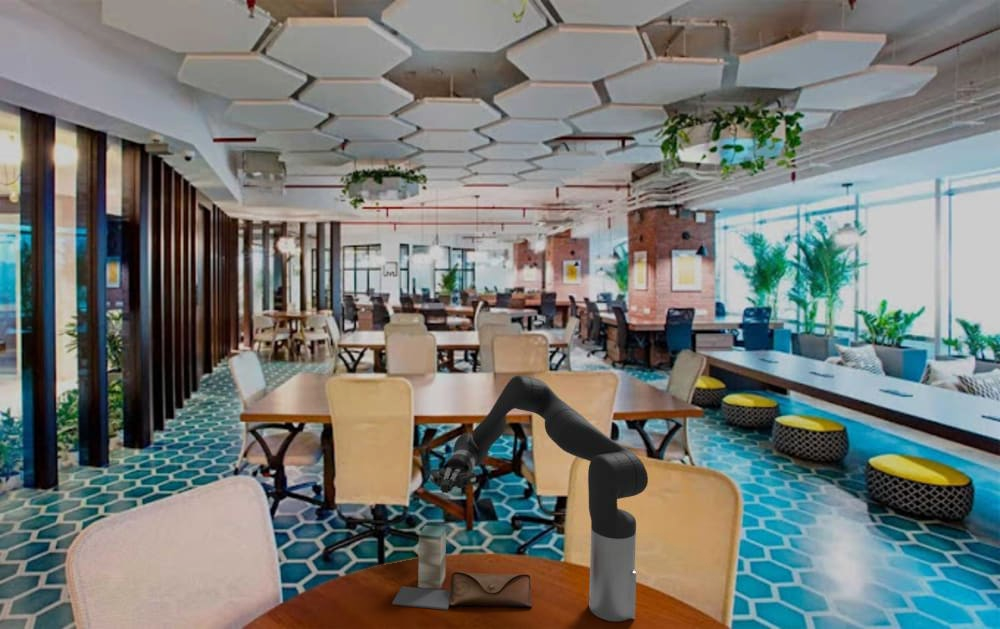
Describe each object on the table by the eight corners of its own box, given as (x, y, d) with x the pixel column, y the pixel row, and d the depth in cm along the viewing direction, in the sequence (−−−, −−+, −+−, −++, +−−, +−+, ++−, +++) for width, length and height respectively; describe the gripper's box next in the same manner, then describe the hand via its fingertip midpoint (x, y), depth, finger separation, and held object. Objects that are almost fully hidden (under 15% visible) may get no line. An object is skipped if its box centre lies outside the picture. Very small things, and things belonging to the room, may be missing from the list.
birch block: (445, 577, 128) (445, 526, 127) (439, 589, 123) (440, 536, 122) (424, 575, 129) (425, 525, 128) (418, 587, 124) (418, 534, 123)
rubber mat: (454, 593, 122) (454, 591, 122) (447, 609, 115) (447, 608, 115) (401, 588, 123) (401, 586, 123) (392, 604, 117) (392, 602, 117)
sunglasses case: (449, 606, 115) (450, 570, 118) (449, 606, 121) (451, 572, 124) (534, 607, 116) (534, 572, 119) (530, 607, 122) (530, 574, 125)
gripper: (436, 451, 154) (419, 472, 137) (483, 455, 153) (471, 476, 136) (436, 478, 155) (418, 501, 138) (482, 481, 153) (470, 506, 136)
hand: (444, 489), depth 137 cm, fingers closed
